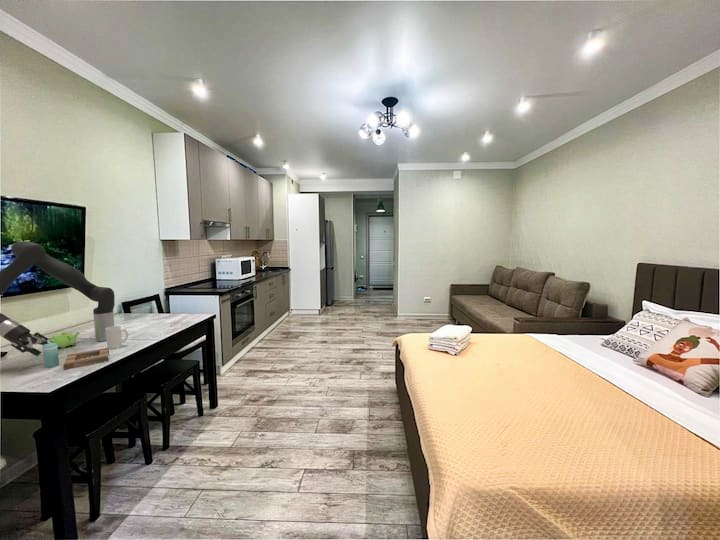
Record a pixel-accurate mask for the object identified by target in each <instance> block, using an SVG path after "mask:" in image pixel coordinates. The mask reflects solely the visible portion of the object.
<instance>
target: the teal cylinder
mask: <svg viewBox="0 0 720 540" xmlns="http://www.w3.org/2000/svg"><path fill="white" fill-rule="evenodd" d="M42 351H43V352H42V353H43V361H44V363H43V364H44V368H45V369H50V368H56V367H57V366H60V359H59V348H58V346H57V343H50V342H48V344H45V345H43V346H42Z"/></svg>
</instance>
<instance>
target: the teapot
mask: <svg viewBox="0 0 720 540" xmlns="http://www.w3.org/2000/svg"><path fill="white" fill-rule="evenodd" d="M79 335H80V332H78V331H76V332H75V334H73V333H71V332H67V331H64V332H61V333H59V334H54V335H52V337H53V338H54V339H52V338H48V340H47V342H48V343H57V346H58V347H59V348H61V349H66V348H65V347H68V346H70V345H73V346H74V344H75V343H76V342H77V337H78V336H79Z"/></svg>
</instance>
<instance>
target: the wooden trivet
mask: <svg viewBox="0 0 720 540" xmlns="http://www.w3.org/2000/svg"><path fill="white" fill-rule="evenodd" d="M109 354H110V349H109V348H107V347H105V348H104V347H103V348H97V349H94V350H87V351H86V350H85V351H81V352H76V353H75V352H74V353H70V354H67V355H66V358H65V359H64V362H63V367H62V368H63V371H65V370H70V368H71V369H76V368H81V367H85V365H86V366H90V365H89V364H92V365H95V364H94V363H97V364H100V363H99V362H102V363H105V362H104V361H107V362H109V358H108V356H109V357H110V355H109ZM97 355H99V356H97ZM91 356H94V357H91ZM87 357H89V358H87ZM81 358H83V359H81ZM77 359H78V360H77ZM80 366H81V367H80ZM75 367H76V368H75Z"/></svg>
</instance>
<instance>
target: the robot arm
mask: <svg viewBox="0 0 720 540" xmlns="http://www.w3.org/2000/svg"><path fill="white" fill-rule="evenodd" d="M11 252H12V255H14V256H15V258H14V260H13V261H12V262H11V263H10V264H8V265H7V266H6V267H5V268H2V269H1V270H0V296H2V295H3V293H5V292H6V291H7V289H9V287H10V286H11V285H12V284H13V283H14V282H15V281H16V280H17V279H18V278H19V277H20V276H22V275H23V274H24V273H25V272H26V271H28V270H29V269H30V268H31V267H32V266H35V267H38V268H39V269H41V270H42V271H44V272H45V273H46V274H48V275H49V276H51V277H52V278H54V279H56V280H57V281H59V282H60V283H63V284H64V285H66V286H68V287H70V288H71V289H74V290H76V291H78V292H80V293H81V294H83V295H84V296H85V297H86V298H88V299H89V300H91V301H92V302H97V306H96V307H94V308H93V310H92V311H93V312H92V313H93V324H94V337H95V338H94V339H95V340H94V341H95V342H105V341H106V342H107V339H106V328H108V327H112V326H115V317H114V309H115V305H116V304H115V301H116V300H115V296H116V295H115V292H114V290H113V288H111V287H105V286H98V285H96V284H94V283H92V282H90V281H89V280H88V279H87V278H86V276H85V275H84V273H82V272H81V271H80V270H78V269H77V268H76V267H74V266H72V265H70V264H68V263H66V262H64V261H62V260H60V259H57V258H55V257H53V256H50V254H48V253H46V249H45V247H44V245H41V244H38V243H36V242H32V241H29V240H27V241H26V240H25V241H23V240H22V241H17V242H14V243H13V244H12V245H11ZM30 332H31V330H30V329H29V328H28V327H26V326H24V325H23V324H21V323H19V322H18V321H16V320H14V319H12V318H10V317H8V316H7V315H5V314H3V313H1V312H0V337H1V338H3V339H4V340H7V341H8V342H10V343H11V345H10V346H12V347H13V348H14V349H16V350H18V351H19V352H21V353H22V354H24V353H30V354H31V355H33V356H35V357H38V356H40V355H41V354H42V351H40V350H39V349H37V348H36V347H34V346H33V345H40V346H42V347H43V345H45V344H48V343H49V341H48V340H49V338H48V337H47V336H45V335H43V334H41V333H39V332H35V333H33V334H32V333H30Z"/></svg>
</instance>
